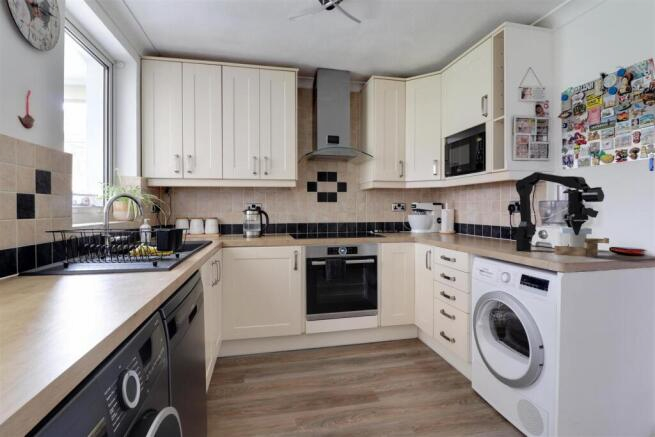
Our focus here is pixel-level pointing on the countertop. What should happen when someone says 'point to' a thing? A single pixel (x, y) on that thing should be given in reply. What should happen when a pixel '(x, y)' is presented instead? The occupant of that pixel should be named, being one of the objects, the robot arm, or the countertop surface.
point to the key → (601, 240)
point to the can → (576, 240)
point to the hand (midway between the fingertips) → (574, 234)
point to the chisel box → (579, 249)
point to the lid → (570, 231)
